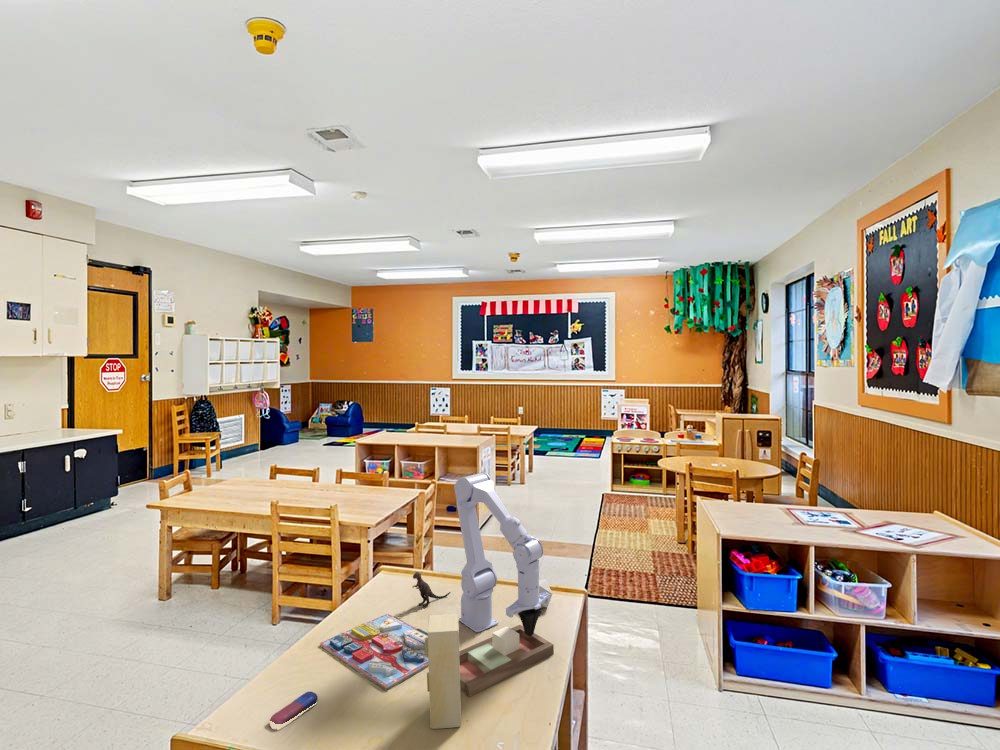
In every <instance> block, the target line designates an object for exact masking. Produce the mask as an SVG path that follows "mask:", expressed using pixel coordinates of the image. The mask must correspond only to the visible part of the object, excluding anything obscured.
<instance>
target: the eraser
mask: <svg viewBox="0 0 1000 750" xmlns="http://www.w3.org/2000/svg"><path fill="white" fill-rule="evenodd" d="M318 698H319V697H318V694H317V693H315V692H314V691H306V692H304V693H303V694H302V695H299V696H298V697H297V698H295V699H294V700H293V701H292V702H290V703H289V704H288V705H286V706H284V707H283V708H282V709H280V710H279V711H277V712H275V713H274V714H272V716H271V717H270V719H269V721H272V722H274V723H275V724H283V723H285V722H287V721H289V720H290V719H292V718H294V717H295V716H297V715H298V714H299V713H301V712H302V711H304V710H306V709H307V708H309V707H310V706H312V705H313V704H315V703H316V702H317V703H318Z"/></svg>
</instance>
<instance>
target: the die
mask: <svg viewBox="0 0 1000 750" xmlns="http://www.w3.org/2000/svg"><path fill="white" fill-rule="evenodd" d="M544 592H547V593H549V594H550V601H549V602H547V601H545V602H543V603H542V604H541V609H542V608H545V609H546V608H548V606H549V604H550V602H551V600H552V596H553V592H552V590H551V588H550V585H549V583H548V580H547V579H545V578H544V579H539V594H540V593H544Z"/></svg>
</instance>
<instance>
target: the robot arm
mask: <svg viewBox="0 0 1000 750" xmlns="http://www.w3.org/2000/svg"><path fill="white" fill-rule="evenodd" d="M453 489H454V493H455V499H456V502H455V503H456V508H457V509H456V510H457V514H458V519H459V525H460V531H461V536H462V542H463V547H464V553H465V558H466V559H465V560H466V564H465V565H464V567H463V569H462V570H461V583H460V586H461V590H462V595H461V597H460V618H459V617H458V622H461V623H462V624H463V625H465V626H466V627H468V628H469V629H471V630H472V631H474V632H475V633H481V632H482V631H485V630H487V629H489V628H492V627H494V626H496V625H498V624H499V621H497V620H496V619H494V618H493V602H492V599H493V598H492V597H493V595H492V593H493V592H494V588H495V587H496V585H497V584H498V577H497V574H496V572H495V570H494V566H493V563H492V562H491V561H489V560H488V559H487V558H486V556H485V551H484V545H483V540H482V534H481V529H480V524H479V519H478V513H477V508H476V506H477V504H478V503H482V504H484V505H485V506H486V507H487V509H488V510H489V511H490V513H491V514H492V515H493V516H494V517H495V518H496V520H497V521H498V522H499V524H500V527H499V529H500V530H499V531H500V532H501V534H502V535H503V536H504V538H505V539H506V541H507V543H509V545H510V546H511V548H512V549H513V552H512V556H513V559H514V561H515V564H516V568H517V600H515V601H514V602H513V603H512V604H510V605H509V606H508V607H506V608H505V616H507V617H509V618H514V616H515V615H516V614H517V616H519V618H520V621H521V625H522V626H523V628H524V632H525V634H526V635H528V636H532V635H533V634H534V633H535V628H536V625H537V623H538V620H539V617H540V616H541V613H542V612H543V611H542V608H541V604H542V603H543V602H545V601H547V602H549V601H550V602H551V599H550V594H549V593H547V592H544V593H540V594H539V580H540V560H539V559H541V558H542V557H543V555H544V547H543V545H542V542H541V541H540V540H539V539H538V538H536V537H534V536H532V535H531V534H529V532H528V531H527V530H526V528H525V527H524V526H523V524H522V523H521V520H520V519H518V517H516V516H513V515H510V513H509V511H508V510H507V508H506V506H505V505H504V503H503V502H502V500H501V498H500V497H499V496H498V494H497V491H495V482H494V481H493V480H492V478H491V477H490V475H489V474H488V473H487V472H485V471H482V472H479V473H475V474H472V475H467V476H462V477H459V478H458V479H457V480H456V482H455V483H454V485H453ZM550 602H549V603H550Z"/></svg>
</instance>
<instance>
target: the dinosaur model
mask: <svg viewBox="0 0 1000 750" xmlns="http://www.w3.org/2000/svg"><path fill="white" fill-rule="evenodd" d="M412 578H413V579H414V580H416V584H415V585H412V589H414V588H415V589H417V590H419V594H420V597H421V598H422V602H419V603H418V604H417V605H418V606H419V607H420V606H422V608H423V609H426V608H428V607H429V605H430V604H431V602H430V598H432V599H436V600H438V599H444V598H445V597H447V596H449V595H450V594H451V591H449V592H448V593H446V594H445V595H440V596H439V595H436V594H435V593H434V592H433V591H432V590H431V587H430V585H429V584H428V583H427V582H426V581H424V580H423V578H422V573H421V572H420V571H415V573H414V574H413V575H412Z"/></svg>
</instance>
